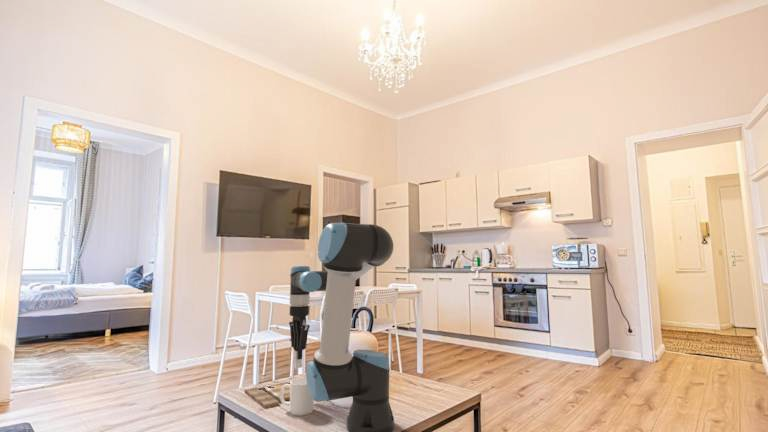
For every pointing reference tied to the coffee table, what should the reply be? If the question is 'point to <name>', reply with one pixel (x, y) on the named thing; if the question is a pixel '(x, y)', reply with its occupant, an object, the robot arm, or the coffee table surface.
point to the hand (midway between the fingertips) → (297, 367)
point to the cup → (298, 397)
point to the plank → (278, 391)
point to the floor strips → (261, 397)
